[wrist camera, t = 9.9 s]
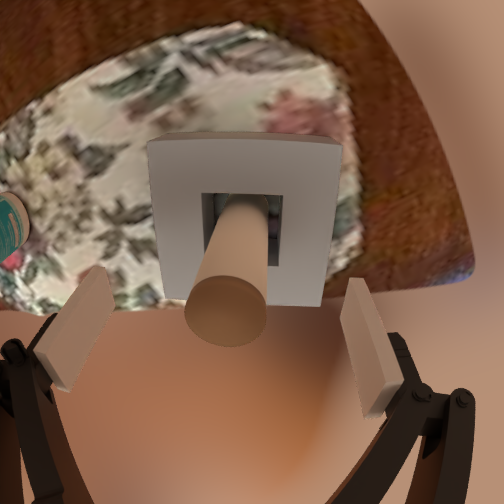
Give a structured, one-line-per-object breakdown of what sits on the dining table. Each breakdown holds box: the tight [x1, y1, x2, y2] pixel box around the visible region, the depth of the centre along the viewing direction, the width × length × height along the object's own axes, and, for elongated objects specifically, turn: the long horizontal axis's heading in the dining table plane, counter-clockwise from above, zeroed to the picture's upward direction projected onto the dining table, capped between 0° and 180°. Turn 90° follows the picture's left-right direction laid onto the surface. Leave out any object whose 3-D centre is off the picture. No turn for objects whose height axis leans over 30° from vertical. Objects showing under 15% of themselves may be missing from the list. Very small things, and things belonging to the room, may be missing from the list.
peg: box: [184, 193, 268, 347], centre depth 21 cm, size 4×4×15 cm
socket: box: [147, 132, 343, 307], centre depth 25 cm, size 14×14×5 cm
